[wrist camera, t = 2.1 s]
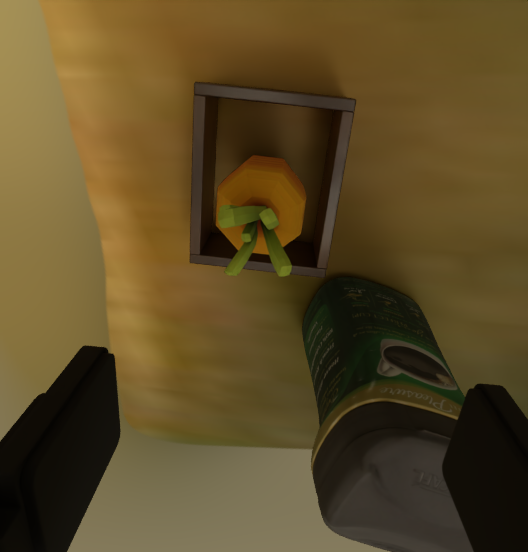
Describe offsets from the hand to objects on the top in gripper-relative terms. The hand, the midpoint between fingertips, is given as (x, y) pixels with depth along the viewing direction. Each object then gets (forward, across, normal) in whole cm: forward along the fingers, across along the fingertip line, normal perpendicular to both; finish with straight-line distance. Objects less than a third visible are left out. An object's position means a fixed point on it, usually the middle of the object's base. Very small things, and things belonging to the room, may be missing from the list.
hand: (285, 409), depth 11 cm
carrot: (+23, +2, -2) cm, 23 cm away
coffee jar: (+23, -7, +10) cm, 26 cm away
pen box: (+23, +2, -2) cm, 23 cm away
